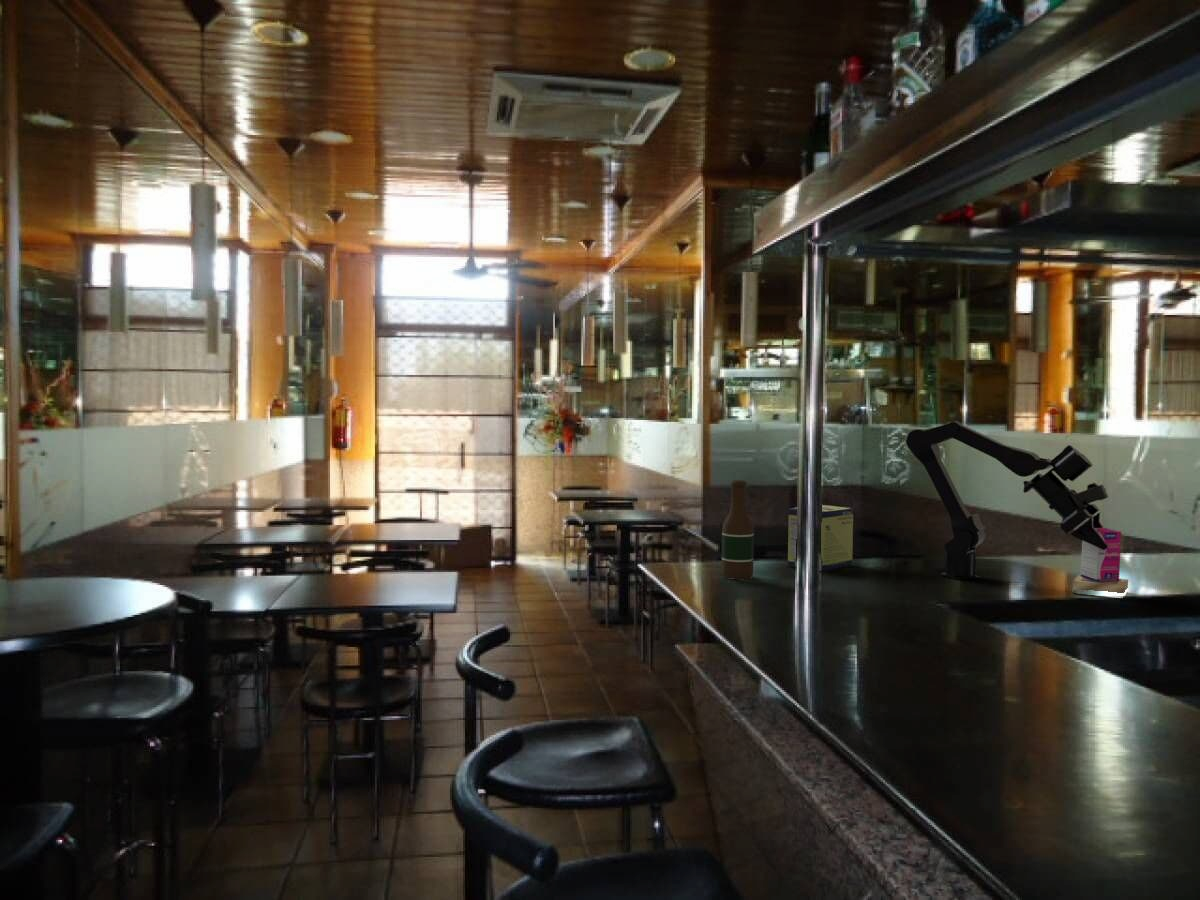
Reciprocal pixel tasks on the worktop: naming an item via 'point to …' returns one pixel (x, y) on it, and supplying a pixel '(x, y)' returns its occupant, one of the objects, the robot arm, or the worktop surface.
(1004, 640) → the worktop surface
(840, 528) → the protein box
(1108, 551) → the supplement box
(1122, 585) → the beech base block
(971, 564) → the robot arm
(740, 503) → the beer bottle
